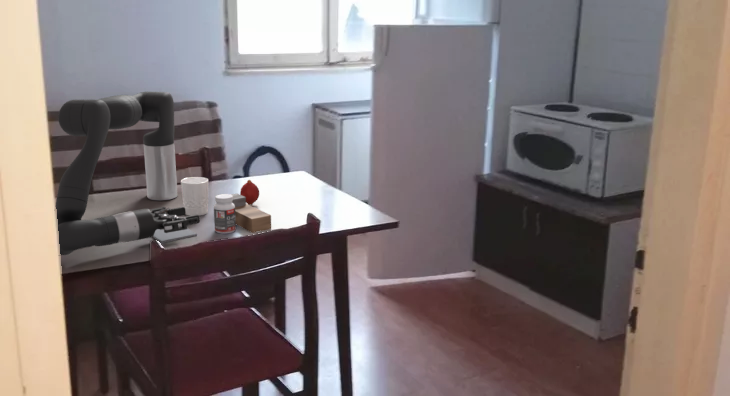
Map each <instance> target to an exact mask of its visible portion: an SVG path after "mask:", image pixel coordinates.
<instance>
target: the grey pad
mask: <svg viewBox="0 0 730 396" xmlns="http://www.w3.org/2000/svg"><path fill="white" fill-rule="evenodd" d="M197 235H198V234H197V233H196V232H195V231H193V230H191V229H189V227H187V229H186V230H180V231H174V232H169V233H164V230H160V229H157V230H156V231H155V234H154V236H153V237H152V238H153V239H154V240H156V239H157V240H156V241H158V240H159V241H158V242H159V243H161V244H163V243H168V242H172V241H176V240H182V239H186V238H191V237H197Z"/></svg>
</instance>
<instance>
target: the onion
mask: <svg viewBox="0 0 730 396" xmlns="http://www.w3.org/2000/svg"><path fill="white" fill-rule="evenodd" d="M239 194H240V195H242V196H244V197H246V204H248V205H250V206H252V205H253V204H254V203H256V202H257V201H258V199H259V197H260V190H259V188H258V186H257V185H256V184H255V183H254V182H253V181H252V180H251V179H248V180H247V182H245V183H244V184H243V185H242V186H241V187H240V193H239Z"/></svg>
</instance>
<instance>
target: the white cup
mask: <svg viewBox="0 0 730 396" xmlns="http://www.w3.org/2000/svg"><path fill="white" fill-rule="evenodd" d="M180 187H181V199H182V203H183V207H184V208H185V211H186V214H185V215H186V216H192V215H199V217H201V216H204V215H207V214H209V211H208V210H209V178H207V177H203V176H202V177H201V176H191V177H185V178H182V179H181V180H180Z"/></svg>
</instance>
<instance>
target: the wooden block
mask: <svg viewBox="0 0 730 396" xmlns="http://www.w3.org/2000/svg"><path fill="white" fill-rule="evenodd" d="M231 195H232V196H233V201H232V203H233V204H234V205H235V220H236V226H238V227H240V228H242V229H243V230H246V231H248V232H249V233H251V234H254V233H258V232H264V231H268V230H272V215H271V214H269V213H267V212H265V211H263V210H261V209H259V208H257V207H255V206H252V205H248V204H247V203H246V197H244V196H242V195H240V193H232V194H231Z"/></svg>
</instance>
